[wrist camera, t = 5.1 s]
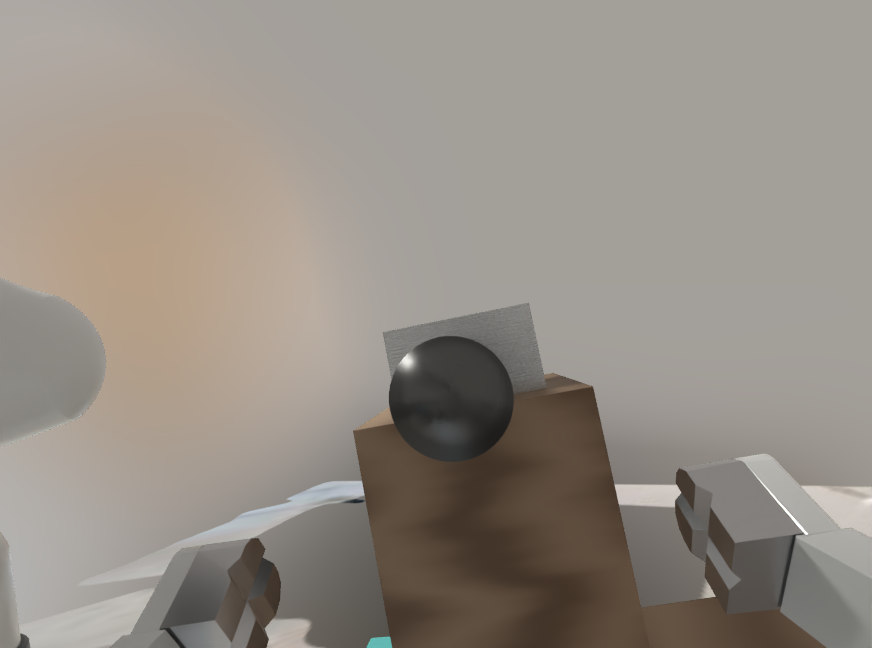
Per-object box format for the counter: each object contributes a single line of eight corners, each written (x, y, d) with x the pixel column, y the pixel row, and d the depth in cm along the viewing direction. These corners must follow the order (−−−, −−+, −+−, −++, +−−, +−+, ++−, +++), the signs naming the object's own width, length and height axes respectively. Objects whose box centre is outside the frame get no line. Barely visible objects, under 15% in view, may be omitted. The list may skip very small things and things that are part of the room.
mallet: (312, 487, 10) (282, 315, 11) (413, 403, 27) (400, 335, 27) (622, 433, 10) (582, 253, 10) (533, 380, 26) (519, 311, 26)
